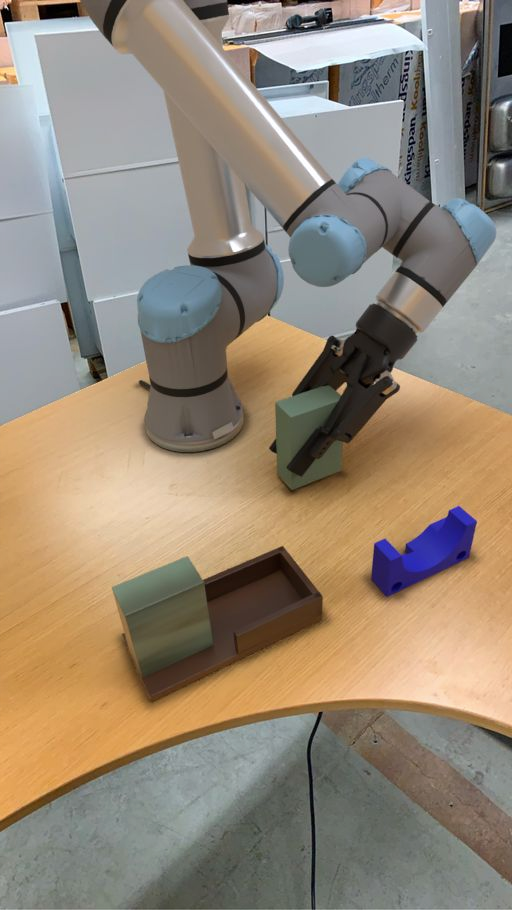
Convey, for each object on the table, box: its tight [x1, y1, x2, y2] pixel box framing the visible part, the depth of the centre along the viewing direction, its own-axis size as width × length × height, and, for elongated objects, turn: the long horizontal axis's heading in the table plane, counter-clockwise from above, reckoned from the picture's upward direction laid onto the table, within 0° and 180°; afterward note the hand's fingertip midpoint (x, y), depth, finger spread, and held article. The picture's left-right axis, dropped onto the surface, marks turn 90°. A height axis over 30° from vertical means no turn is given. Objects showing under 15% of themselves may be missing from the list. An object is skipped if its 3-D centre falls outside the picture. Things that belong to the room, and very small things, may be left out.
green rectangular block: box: [274, 385, 344, 491], centre depth 87 cm, size 4×8×12 cm, turn 118°
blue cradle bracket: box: [370, 505, 478, 598], centre depth 76 cm, size 12×4×6 cm, turn 118°
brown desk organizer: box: [111, 545, 324, 703], centre depth 68 cm, size 9×20×11 cm, turn 118°
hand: (285, 462), depth 87 cm, fingers closed on green rectangular block, 4 cm apart
